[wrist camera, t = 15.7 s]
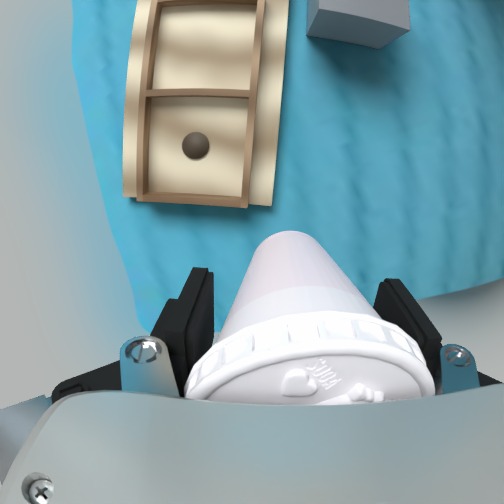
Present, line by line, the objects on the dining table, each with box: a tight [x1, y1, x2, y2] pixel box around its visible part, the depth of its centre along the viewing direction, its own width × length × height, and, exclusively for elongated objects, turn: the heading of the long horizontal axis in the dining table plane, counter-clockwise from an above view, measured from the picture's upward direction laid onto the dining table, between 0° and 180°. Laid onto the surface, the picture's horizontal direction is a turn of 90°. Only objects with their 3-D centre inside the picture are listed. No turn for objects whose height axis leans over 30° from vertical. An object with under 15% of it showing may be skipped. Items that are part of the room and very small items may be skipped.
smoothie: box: [184, 231, 435, 405], centre depth 9 cm, size 6×6×14 cm
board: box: [123, 0, 289, 208], centre depth 21 cm, size 28×14×5 cm, turn 176°
